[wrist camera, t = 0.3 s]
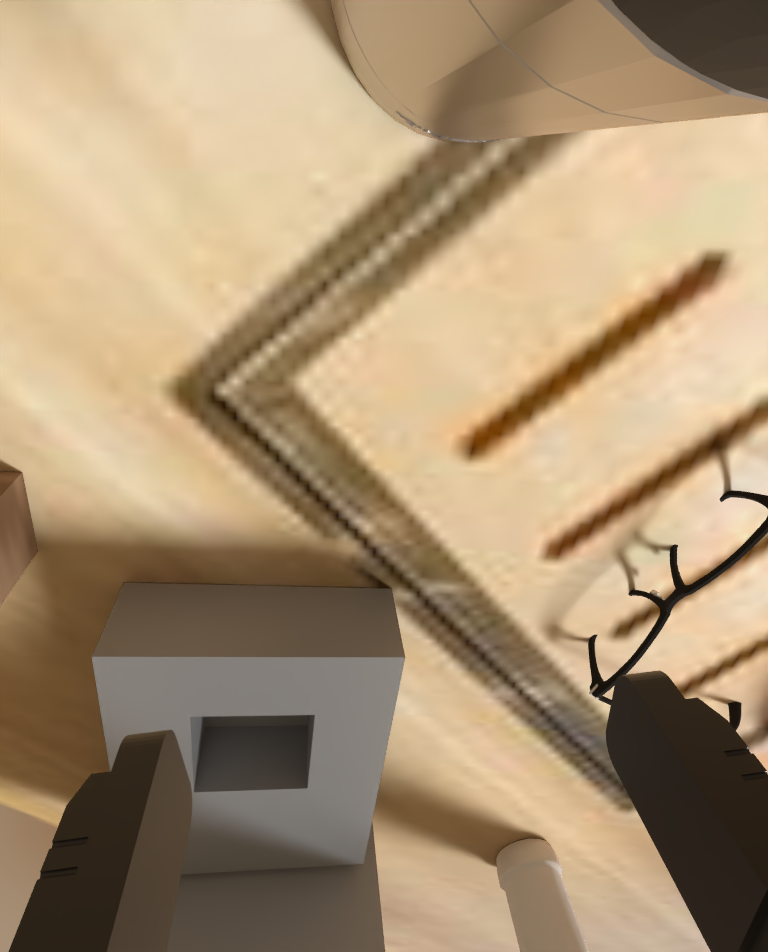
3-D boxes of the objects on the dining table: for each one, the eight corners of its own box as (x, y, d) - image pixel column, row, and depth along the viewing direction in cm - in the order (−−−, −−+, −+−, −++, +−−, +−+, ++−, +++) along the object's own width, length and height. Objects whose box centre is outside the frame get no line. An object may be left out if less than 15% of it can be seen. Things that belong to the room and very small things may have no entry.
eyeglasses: (743, 449, 30) (799, 487, 27) (909, 549, 35) (974, 592, 32) (556, 656, 36) (582, 708, 33) (720, 715, 42) (758, 766, 38)
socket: (123, 582, 29) (91, 656, 25) (391, 588, 31) (405, 657, 27) (147, 794, 38) (127, 877, 33) (357, 787, 40) (363, 864, 36)
